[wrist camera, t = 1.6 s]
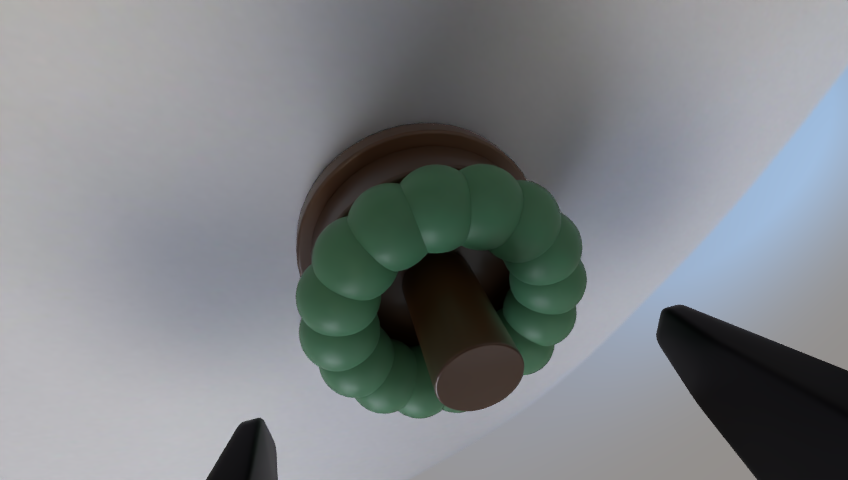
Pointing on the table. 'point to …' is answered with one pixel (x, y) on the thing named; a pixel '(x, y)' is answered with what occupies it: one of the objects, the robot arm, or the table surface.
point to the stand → (430, 265)
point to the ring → (407, 245)
